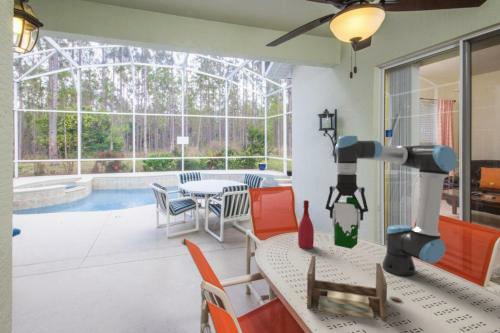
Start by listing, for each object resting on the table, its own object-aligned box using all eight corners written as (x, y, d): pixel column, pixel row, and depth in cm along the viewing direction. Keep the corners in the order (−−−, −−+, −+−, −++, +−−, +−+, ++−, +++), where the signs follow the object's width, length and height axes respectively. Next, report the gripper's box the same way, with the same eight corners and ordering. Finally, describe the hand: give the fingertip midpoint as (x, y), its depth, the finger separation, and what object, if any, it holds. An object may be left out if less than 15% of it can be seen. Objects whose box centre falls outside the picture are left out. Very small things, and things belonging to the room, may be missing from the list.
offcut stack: (371, 311, 109) (371, 296, 109) (373, 319, 104) (373, 304, 104) (318, 303, 115) (318, 289, 114) (318, 311, 109) (318, 296, 109)
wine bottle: (313, 249, 174) (314, 202, 172) (297, 248, 176) (298, 201, 174) (313, 244, 184) (313, 199, 182) (298, 243, 186) (298, 198, 184)
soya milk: (352, 250, 111) (353, 200, 110) (331, 245, 117) (331, 197, 115) (360, 244, 118) (361, 197, 116) (339, 239, 124) (339, 194, 122)
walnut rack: (379, 295, 121) (380, 263, 120) (385, 321, 103) (387, 284, 102) (311, 285, 129) (312, 255, 128) (307, 307, 111) (307, 273, 110)
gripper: (318, 173, 115) (318, 227, 117) (377, 174, 108) (375, 231, 110) (320, 172, 122) (319, 222, 124) (375, 173, 115) (373, 226, 117)
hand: (346, 226), depth 117 cm, fingers closed on soya milk, 9 cm apart
